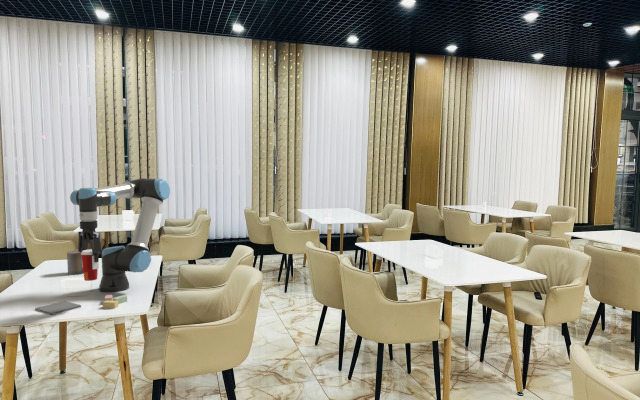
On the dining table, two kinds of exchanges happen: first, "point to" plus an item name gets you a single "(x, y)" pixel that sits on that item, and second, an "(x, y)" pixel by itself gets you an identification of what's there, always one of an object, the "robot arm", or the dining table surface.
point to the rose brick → (108, 297)
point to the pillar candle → (74, 262)
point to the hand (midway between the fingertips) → (90, 267)
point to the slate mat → (57, 307)
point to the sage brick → (120, 299)
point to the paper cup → (88, 266)
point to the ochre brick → (110, 304)
